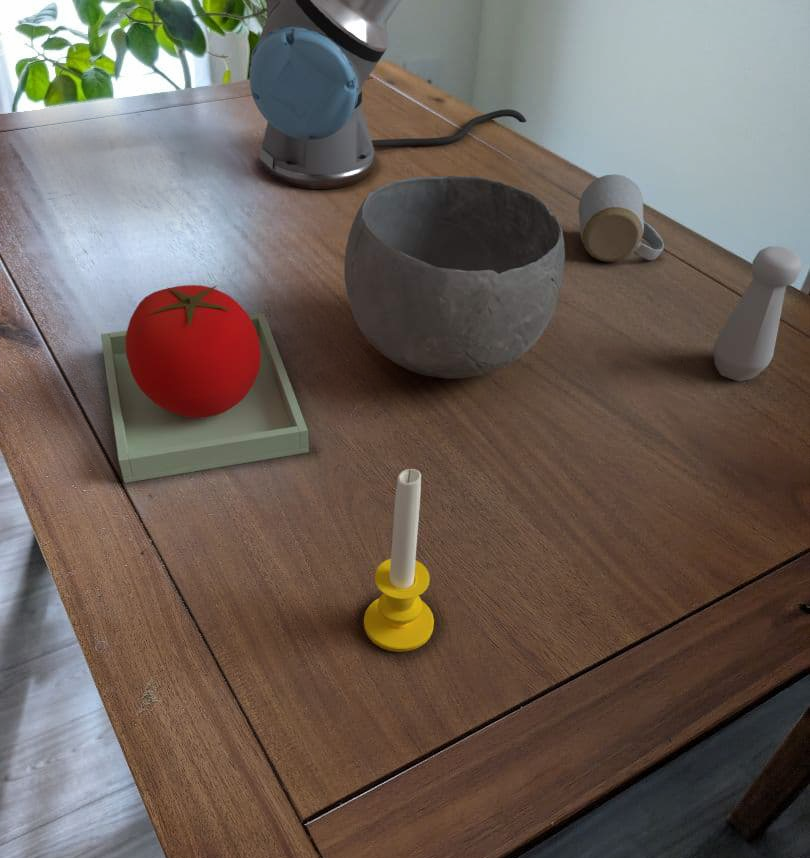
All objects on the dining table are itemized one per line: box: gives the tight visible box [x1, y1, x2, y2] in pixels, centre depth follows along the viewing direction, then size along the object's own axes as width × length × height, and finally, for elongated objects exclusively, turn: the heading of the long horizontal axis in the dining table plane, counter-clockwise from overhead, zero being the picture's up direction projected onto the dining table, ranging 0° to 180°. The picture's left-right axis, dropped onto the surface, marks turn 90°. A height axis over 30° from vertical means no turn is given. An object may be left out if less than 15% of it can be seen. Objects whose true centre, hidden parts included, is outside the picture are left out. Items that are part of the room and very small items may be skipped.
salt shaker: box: [713, 246, 803, 382], centre depth 84 cm, size 6×6×13 cm
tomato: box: [125, 284, 261, 418], centre depth 77 cm, size 12×12×10 cm
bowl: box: [343, 175, 566, 380], centre depth 83 cm, size 20×20×15 cm
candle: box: [363, 468, 435, 653], centre depth 58 cm, size 5×5×16 cm
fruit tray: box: [100, 313, 310, 484], centre depth 80 cm, size 16×19×3 cm
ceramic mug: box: [578, 174, 665, 263], centre depth 102 cm, size 11×8×8 cm
